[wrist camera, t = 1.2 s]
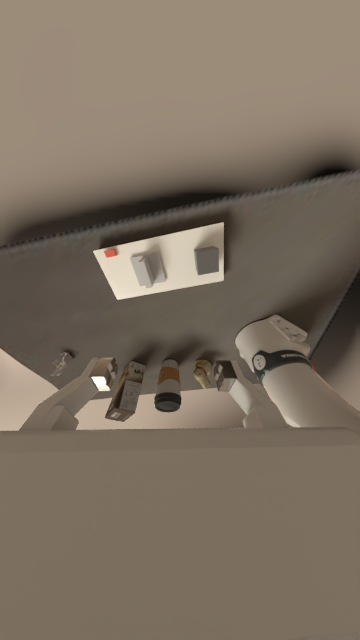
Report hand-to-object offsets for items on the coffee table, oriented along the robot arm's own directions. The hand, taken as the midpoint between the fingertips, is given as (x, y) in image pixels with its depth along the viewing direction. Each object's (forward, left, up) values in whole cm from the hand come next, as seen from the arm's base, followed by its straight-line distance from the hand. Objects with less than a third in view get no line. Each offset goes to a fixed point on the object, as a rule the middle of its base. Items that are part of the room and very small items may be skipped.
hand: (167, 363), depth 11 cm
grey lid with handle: (+6, 0, -23) cm, 24 cm away
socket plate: (+3, -1, -26) cm, 26 cm away
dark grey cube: (-5, -6, -23) cm, 24 cm away
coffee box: (+5, +41, -26) cm, 48 cm away
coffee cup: (-8, +34, -26) cm, 43 cm away
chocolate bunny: (-20, +30, -26) cm, 44 cm away
